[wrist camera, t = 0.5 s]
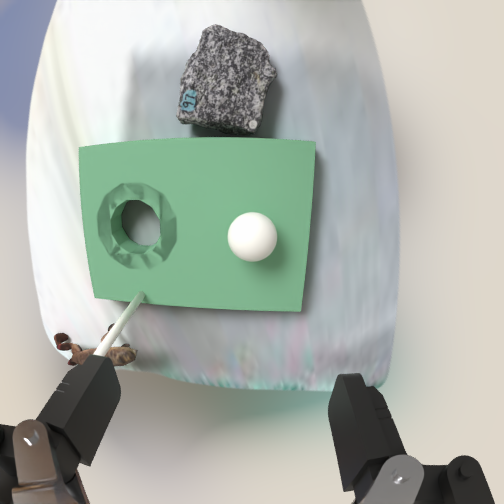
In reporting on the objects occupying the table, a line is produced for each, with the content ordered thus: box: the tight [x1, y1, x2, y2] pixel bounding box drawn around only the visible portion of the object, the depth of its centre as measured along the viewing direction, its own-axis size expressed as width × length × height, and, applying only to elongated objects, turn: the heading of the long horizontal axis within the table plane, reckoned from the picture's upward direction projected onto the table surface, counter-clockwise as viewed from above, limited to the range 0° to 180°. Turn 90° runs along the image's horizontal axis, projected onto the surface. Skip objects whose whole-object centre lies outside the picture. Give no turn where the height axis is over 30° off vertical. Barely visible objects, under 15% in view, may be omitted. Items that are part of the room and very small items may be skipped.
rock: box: [176, 24, 277, 135], centre depth 22 cm, size 8×10×4 cm
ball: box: [228, 212, 277, 262], centre depth 24 cm, size 4×4×4 cm
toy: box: [54, 324, 137, 366], centre depth 31 cm, size 6×9×15 cm
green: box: [79, 137, 316, 312], centre depth 27 cm, size 16×22×2 cm
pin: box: [94, 291, 145, 356], centre depth 23 cm, size 3×1×12 cm, turn 178°
